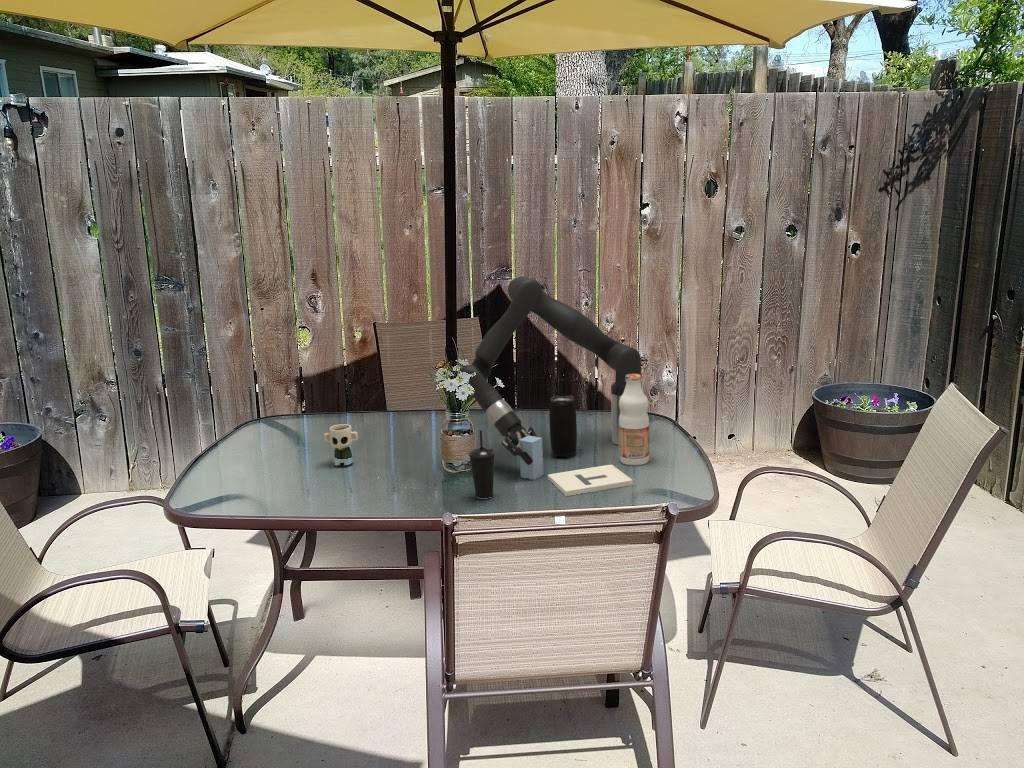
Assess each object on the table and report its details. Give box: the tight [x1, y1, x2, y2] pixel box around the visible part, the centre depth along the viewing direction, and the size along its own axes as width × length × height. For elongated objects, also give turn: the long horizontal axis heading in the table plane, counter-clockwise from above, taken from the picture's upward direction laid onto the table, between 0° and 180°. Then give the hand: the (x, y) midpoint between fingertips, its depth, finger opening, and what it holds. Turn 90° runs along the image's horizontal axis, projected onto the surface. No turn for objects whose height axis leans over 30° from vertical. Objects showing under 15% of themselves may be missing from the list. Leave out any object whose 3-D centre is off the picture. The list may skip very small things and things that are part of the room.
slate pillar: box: [519, 436, 544, 480], centre depth 248 cm, size 5×5×12 cm
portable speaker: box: [549, 394, 578, 459], centre depth 264 cm, size 9×9×20 cm
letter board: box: [547, 464, 634, 497], centre depth 242 cm, size 21×15×2 cm
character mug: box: [323, 423, 359, 459], centre depth 266 cm, size 11×7×13 cm, turn 90°
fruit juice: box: [618, 374, 650, 466], centre depth 254 cm, size 9×9×28 cm
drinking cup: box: [468, 429, 496, 498], centre depth 232 cm, size 8×8×20 cm
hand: (536, 460), depth 247 cm, fingers closed on slate pillar, 5 cm apart
